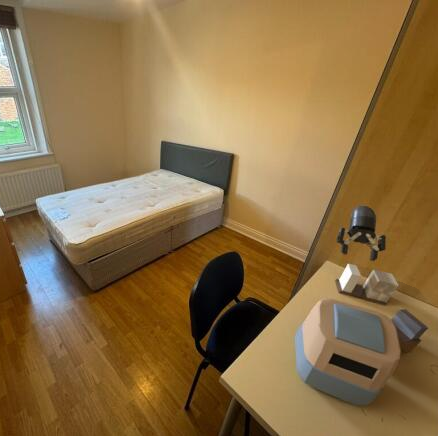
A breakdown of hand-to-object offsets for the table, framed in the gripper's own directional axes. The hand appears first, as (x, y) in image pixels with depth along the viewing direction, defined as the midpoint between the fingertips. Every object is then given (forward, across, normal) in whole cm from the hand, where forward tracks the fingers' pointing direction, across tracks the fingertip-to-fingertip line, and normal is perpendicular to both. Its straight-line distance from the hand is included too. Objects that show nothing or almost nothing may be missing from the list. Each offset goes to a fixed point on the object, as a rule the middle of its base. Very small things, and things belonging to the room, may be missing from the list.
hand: (358, 257), depth 89 cm
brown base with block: (+12, +5, +8) cm, 15 cm away
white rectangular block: (+11, 0, +8) cm, 14 cm away
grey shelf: (+29, +3, -8) cm, 30 cm away
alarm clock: (+41, -12, -20) cm, 47 cm away
